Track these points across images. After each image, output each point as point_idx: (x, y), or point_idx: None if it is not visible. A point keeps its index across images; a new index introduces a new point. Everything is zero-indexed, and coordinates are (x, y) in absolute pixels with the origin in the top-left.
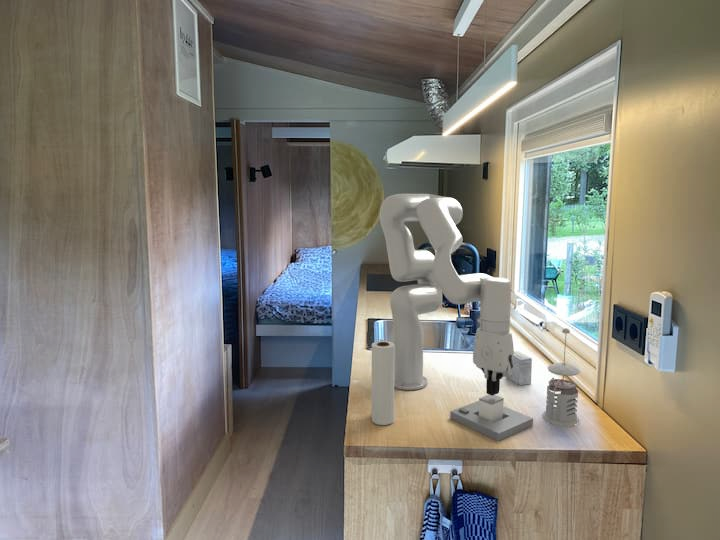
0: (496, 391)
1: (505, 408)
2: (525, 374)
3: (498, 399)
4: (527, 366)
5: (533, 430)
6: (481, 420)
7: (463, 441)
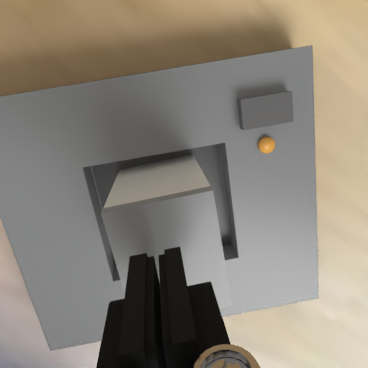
0: (111, 310)
1: None
2: None
3: None
4: None
5: (22, 301)
6: (133, 127)
7: None
